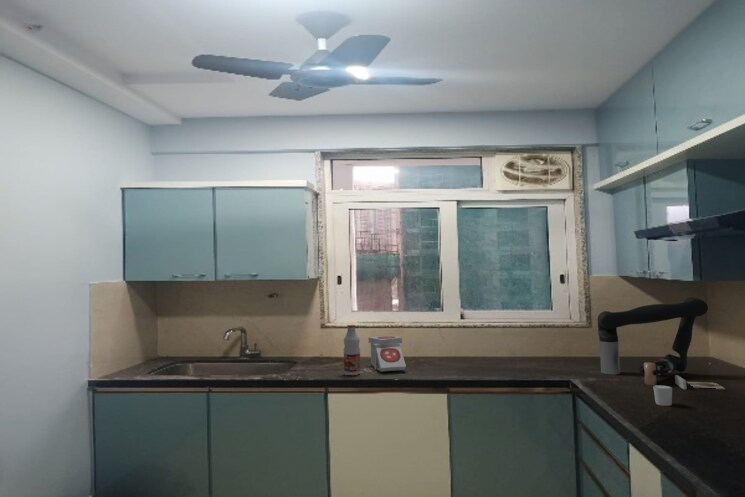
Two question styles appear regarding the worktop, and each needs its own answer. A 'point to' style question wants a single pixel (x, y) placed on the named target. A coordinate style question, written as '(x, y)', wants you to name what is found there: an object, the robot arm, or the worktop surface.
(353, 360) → the fruit juice
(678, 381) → the wall
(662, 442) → the worktop surface
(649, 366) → the cylinder
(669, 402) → the shot glass
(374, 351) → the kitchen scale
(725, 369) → the worktop surface
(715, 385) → the pad
